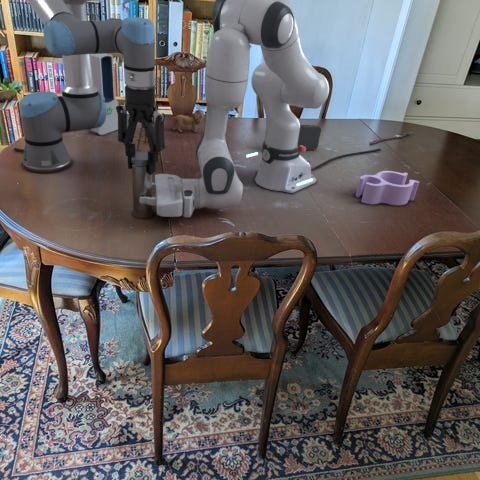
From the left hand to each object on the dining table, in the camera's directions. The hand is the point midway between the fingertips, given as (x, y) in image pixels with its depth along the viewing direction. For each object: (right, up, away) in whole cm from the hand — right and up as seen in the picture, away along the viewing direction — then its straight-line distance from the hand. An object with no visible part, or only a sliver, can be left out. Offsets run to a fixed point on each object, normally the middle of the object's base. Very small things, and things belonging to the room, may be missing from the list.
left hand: (141, 169), depth 130 cm
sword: (+97, +26, +83) cm, 130 cm away
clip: (+77, -5, +32) cm, 84 cm away
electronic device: (-28, +25, +60) cm, 71 cm away
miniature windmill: (-7, +16, +49) cm, 52 cm away
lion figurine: (+5, +27, +69) cm, 74 cm away
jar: (-1, -12, +8) cm, 14 cm away
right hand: (-2, -6, +4) cm, 8 cm away
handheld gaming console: (+48, +17, +61) cm, 80 cm away
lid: (0, +3, -2) cm, 4 cm away
